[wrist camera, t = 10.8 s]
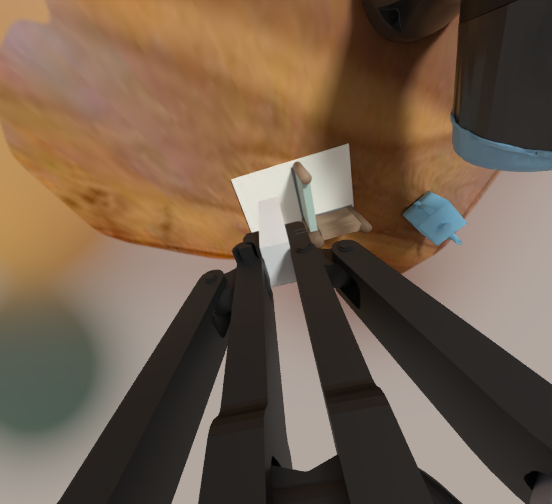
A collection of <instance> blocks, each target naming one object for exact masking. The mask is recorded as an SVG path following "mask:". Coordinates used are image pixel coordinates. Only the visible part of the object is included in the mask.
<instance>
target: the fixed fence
mask: <svg viewBox="0 0 552 504" xmlns="http://www.w3.org/2000/svg"><path fill="white" fill-rule="evenodd" d="M315 217H316V223H317V229H318V230H317V231H313V232H310V229H309V227H308V225H307V223H306V220H305V218H303V219H302V221H301V222H302V223H304V225H305V228H306V230H307V232H308V235H309V237H310V240H311V242H312V243H313V244H314V245H315V246H316V247H317V248H321V247H322V246H323V245H324V240H327V239H331V238H334V237H338V236H342V235H345V234H349V233H352V232H356V231H360V230H362V231H363V232H364V233H368V232H370V231H371V230H372V226H371V225H370V224H369V223H368V222H367V221H366V220H365V219H364V218H363V217H362V215H361V214H360V213H359V212H358V211H357V210H356V209H355V208H354V207H353V206H348V207H347V208H343V209H340V210H336V211H333V212H329V213H326V214H322V215H319V216H315Z"/></svg>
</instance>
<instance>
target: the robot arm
mask: <svg viewBox="0 0 552 504" xmlns="http://www.w3.org/2000/svg"><path fill="white" fill-rule="evenodd" d="M363 5H364V8H365V11H366V14H367V16H368V18H369V20H370V22H371V24H372V25H373V27H374V28H375V29H376V30H377V31H378V32H379V33H380V34H381V35H382V36H383V37H385V38H387V39H389V40H391V41H394V42H400V43H406V42H413V41H416V40H419V39H421V38H424V37H426V36H429V35H431V34H433V33H435V32H437V31H438V30H440V29H441V28H443V27H444V26H446V25H447V24H448V23H449V22H451V21H452V20H453V19H454V18H455V17H456V16H457V15H458V14H459V13H460V18H459V27H458V43H457V59H456V74H455V86H454V99H453V109H452V112H451V116H450V118H451V122H452V124H453V131H452V144H453V148H454V150H455V152H456V153H457V154H458V155H459V156H460V157H462V158H463V160H465V161H467V162H469V163H471V164H473V165H476V166H480V167H483V168H488V169H494V170H502V171H515V172H534V171H535V172H536V171H548V170H552V0H363ZM258 213H259V231H256V232H252V233H248V234H246V236H245V237H244V238H243V242H242V243H239V244H238V245H236V246H235V247H234V248H233V250H232V252H233V255H234V257H235V260H236V262H237V268H235V269H234V270H232V271H230V272H228V273H226V274H224V273H223V272H222V271H221V270H212V271H209V272H207V273H205V274H204V275H202V277H201V278H200V279H199V280H198V282H197V284H196V285H195V287H194V288H193V290H192V292H191V293H190V295H189V296H188V298H187V299H186V301H185V302H184V304H183V306H182V307H181V309H180V310H179V312H178V314H177V315H176V317H175V318H174V320H173V321H172V323H171V325H170V326H169V328H168V329H167V331H166V333H165V334H164V336H163V337H162V339H161V340H160V342H159V344H158V345H157V347H156V348H155V350H154V352H153V353H152V355H151V356H150V358H149V359H148V361H147V363H146V364H145V366H144V367H143V369H142V371H141V372H140V374H139V375H138V377H137V378H136V380H135V382H134V383H133V385H132V386H131V388H130V390H129V391H128V393H127V394H126V396H125V397H124V399H123V401H122V402H121V404H120V405H119V407H118V409H117V410H116V412H115V413H114V415H113V417H112V418H111V420H110V421H109V423H108V424H107V426H106V428H105V429H104V431H103V432H102V434H101V435H100V437H99V439H98V440H97V442H96V443H95V445H94V447H93V448H92V450H91V451H90V453H89V454H88V456H87V458H86V459H85V461H84V462H83V464H82V466H81V467H80V469H79V470H78V472H77V473H76V475H75V477H74V478H73V480H72V481H71V483H70V485H69V486H68V488H67V489H66V491H65V492H64V494H63V496H62V497H61V499H60V500H59V501H58V503H57V504H171V503H172V500H173V498H174V495H175V492H176V489H177V486H178V484H179V481H180V478H181V475H182V472H183V469H184V467H185V464H186V461H187V458H188V455H189V453H190V450H191V447H192V444H193V441H194V439H195V436H196V433H197V430H198V427H199V424H200V421H201V419H202V416H203V413H204V410H205V407H206V405H207V402H208V399H209V396H210V393H211V391H212V388H213V385H214V382H215V379H216V377H217V373H218V371H219V368H220V365H221V362H222V360H223V357H224V354H225V351H226V348H227V346H228V348H227V357H226V365H225V375H224V383H223V392H222V401H221V408H220V413H219V415H218V416H217V417H216V418H215V419H214V420H213V421H212V424H211V426H210V430H209V434H208V439H207V446H206V453H205V460H204V467H203V474H202V481H201V488H200V495H199V502H198V504H462V503H461V502H460V501H459V500H458V499H457V498H455V497H454V496H453V495H452V494H451V493H450V492H449V491H448V490H447V489H446V488H445V487H443V486H442V485H441V484H440V483H439V482H438V481H436V480H435V479H434V478H433V477H431V476H430V475H428V474H427V473H426V472H424V471H423V470H421V469H419V468H418V467H417V465H416V462H415V460H414V458H413V456H412V454H411V451H410V449H409V447H408V444H407V443H406V440H405V438H404V436H403V433H402V431H401V429H400V427H399V425H398V422H397V420H396V418H395V416H394V413H393V411H392V409H391V407H390V404H389V402H388V400H387V398H386V396H385V394H384V393H383V392H382V390H381V388H379V387H378V386H376V384H375V383H374V381H373V379H372V377H371V374H370V372H369V370H368V367H367V365H366V363H365V360H364V358H363V356H362V353H361V351H360V349H359V346H358V344H357V342H356V339H355V337H354V335H353V332H352V330H351V328H350V325H349V323H348V321H347V318H346V316H345V314H344V311H343V309H342V307H341V305H340V302H339V300H338V298H337V295H336V293H335V290H334V288H336V291H337V292H338V293H339V294H340V296H341V297H342V298H343V299H344V300H345V301H346V302H347V304H348V305H349V306H350V307H351V309H352V310H353V311H354V312H355V313H356V314H357V316H358V317H359V318H360V319H361V320H362V321H363V323H364V324H365V325H366V326H367V327H368V329H369V330H370V331H371V332H372V333H373V334H374V336H375V337H376V338H377V339H378V340H379V342H381V344H382V345H383V346H384V347H385V349H386V350H387V351H388V352H389V353H390V354H391V356H392V357H393V358H394V359H395V360H396V361H397V363H398V364H399V365H400V366H401V367H402V369H403V370H404V371H405V372H406V373H407V375H408V376H409V377H410V378H411V379H412V380H413V382H414V383H415V384H416V385H417V386H418V387H419V389H420V390H421V391H422V392H423V393H424V394H425V396H426V397H427V398H428V399H429V400H430V402H431V403H432V404H433V405H434V406H435V408H436V409H437V410H438V411H439V412H440V413H441V415H442V416H443V417H444V418H445V419H446V420H447V422H448V423H449V424H450V425H451V426H452V427H453V428H454V430H455V431H456V432H457V433H458V435H459V436H460V437H461V438H462V439H463V441H464V442H465V443H466V444H467V445H468V446H469V447H470V449H471V450H472V451H473V452H474V453H475V454H476V455H477V456H478V457H479V459H480V460H481V461H482V462H483V463H484V464H485V465H486V466H487V467H488V468H489V469H490V471H491V472H492V473H494V474H495V475H496V476H497V477H498V478H499V479H500V480H501V481H502V482H503V483H504V484H505V485H506V486H507V487H508V488H509V489H510V490H511V491H512V492H513V493H514V494H515V495H516V496H517V497H519V498H520V499H521V500H522V501H523V502H525V504H552V384H550V383H549V382H548V381H546V380H545V379H544V378H542V377H541V376H539V375H538V374H537V373H535V372H534V371H533V370H531V369H530V368H529V367H527V366H526V365H524V364H523V363H522V362H520V361H519V360H518V359H516V358H515V357H513V356H512V355H511V354H509V353H508V352H507V351H505V350H504V349H502V348H501V347H500V346H498V345H497V344H496V343H494V342H493V341H492V340H490V339H489V338H487V337H486V336H485V335H483V334H482V333H481V332H479V331H478V330H476V329H475V328H473V327H472V326H471V325H470V324H468V323H467V322H466V321H464V320H462V319H461V318H460V317H459V316H457V315H456V314H454V313H453V312H452V311H450V310H449V309H448V308H446V307H445V306H444V305H442V304H441V303H439V302H438V301H437V300H435V299H434V298H433V297H431V296H430V295H429V294H427V293H426V292H424V291H423V290H422V289H420V288H419V287H418V286H416V285H415V284H413V283H412V282H411V281H409V280H408V279H407V278H405V277H404V276H402V275H401V274H400V273H398V272H397V271H396V270H394V269H393V268H392V267H390V266H389V265H387V264H386V263H385V262H383V261H382V260H381V259H379V258H378V257H376V256H375V255H374V254H372V253H371V252H370V251H368V250H367V249H366V248H364V247H363V246H361V245H360V244H359V243H357V242H355V241H353V240H341V241H337V242H336V243H334V244H333V245H332V248H331V249H320V248H317V247H316V246H315V245H314V244H313V243H312V242H311V240H310V237H309V235H308V232H307V230H306V228H305V225H304V223H302V222H300V221H296V222H292V223H288V224H284V220H283V216H282V212H281V208H280V204H279V200H278V197H274V198H270V199H266V200H262V201H258ZM293 282H297V284H298V289H299V293H300V297H301V302H302V306H303V310H304V314H305V318H306V323H307V327H308V331H309V336H310V340H311V344H312V349H313V353H314V357H315V361H316V365H317V370H318V374H319V378H320V382H321V387H322V391H323V395H324V400H325V404H326V408H327V413H328V417H329V421H330V425H331V430H332V434H333V439H334V443H335V447H336V451H337V455H336V456H334V457H332V458H331V459H329V460H327V461H326V462H324V463H322V464H320V465H319V466H317V467H315V468H313V469H312V470H310V471H307V472H304V471H298V470H293V469H292V462H291V455H290V450H289V446H288V442H287V434H286V425H285V415H284V405H283V394H282V384H281V375H280V374H281V373H280V364H279V353H278V343H277V332H276V322H275V312H274V301H273V293H272V290H271V286H272V287H275V286H279V285H284V284H288V283H293ZM270 283H271V285H270Z"/></svg>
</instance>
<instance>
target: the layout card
mask: <svg viewBox="0 0 552 504" xmlns="http://www.w3.org/2000/svg"><path fill="white" fill-rule="evenodd" d="M295 162H300V163H301V164H302V165H303V166H304V167H305V169H306V170H307V171H308V172H309V174H310V175H311V176H312V180H311V182H310V186H311V192H312V198H313V204H314V210H315V216H319V215H322V214H326V213H329V212H333V211H336V210H340V209H343V208H347V207H348V206H353V207H354V204H353V191H352V178H351V165H350V152H349V144H344V145H341V146H338V147H335V148H331V149H328V150H325V151H322V152H318V153H315V154H312V155H309V156H305V157H302V158H299V159H296V160H292V161H289V162H286V163H283V164H279V165H276V166H273V167H270V168H266V169H263V170H260V171H257V172H254V173H250V174H247V175H244V176H241V177H237V178H234V179H231V181H232V183H233V186H234V189H235V191H236V194H237V196H238V199H239V202H240V204H241V207H242V209H243V212H244V214H245V217H246V220H247V222H248V225H249V227H250V230H251V232H256V231H259V213H258V201H262V200H266V199H270V198H274V197H278V200H279V204H280V208H281V212H282V216H283V220H284V224H288V223H292V222H296V221H300V222H301V221H302V219H303V218H304V216H303V211H302V206H301V201H300V196H299V191H298V186H297V181H296V175H295V171H294V169H293V164H294V163H295Z"/></svg>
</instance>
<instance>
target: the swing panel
mask: <svg viewBox="0 0 552 504" xmlns="http://www.w3.org/2000/svg"><path fill="white" fill-rule="evenodd" d="M293 169H294V171H295V175H296V181H297V186H298V191H299V196H300V201H301V206H302V211H303V216H304V218H305V220H306V223H307V225H308V227H309V229H310V232H313V231H317V230H318V229H317V223H316V217H315V210H314V204H313V198H312V192H311V186H310V182H311V180H312V176H311V175H310V174H309V172H308V171H307V170H306V169H305V167H304V166H303V165H302V164H301V163H300V162H295V163H294V164H293Z"/></svg>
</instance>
